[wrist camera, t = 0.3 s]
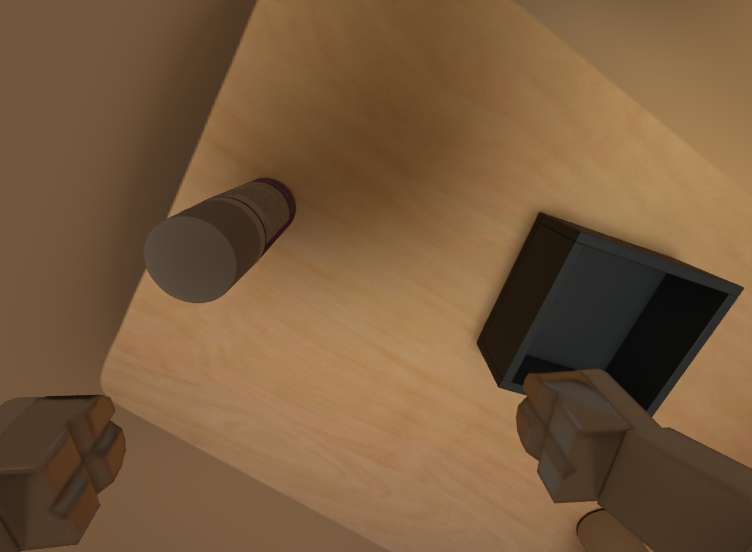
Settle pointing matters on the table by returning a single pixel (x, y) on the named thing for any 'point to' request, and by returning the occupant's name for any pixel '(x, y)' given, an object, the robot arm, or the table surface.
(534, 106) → the table surface
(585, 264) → the tub
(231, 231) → the container
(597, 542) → the paper towel roll
